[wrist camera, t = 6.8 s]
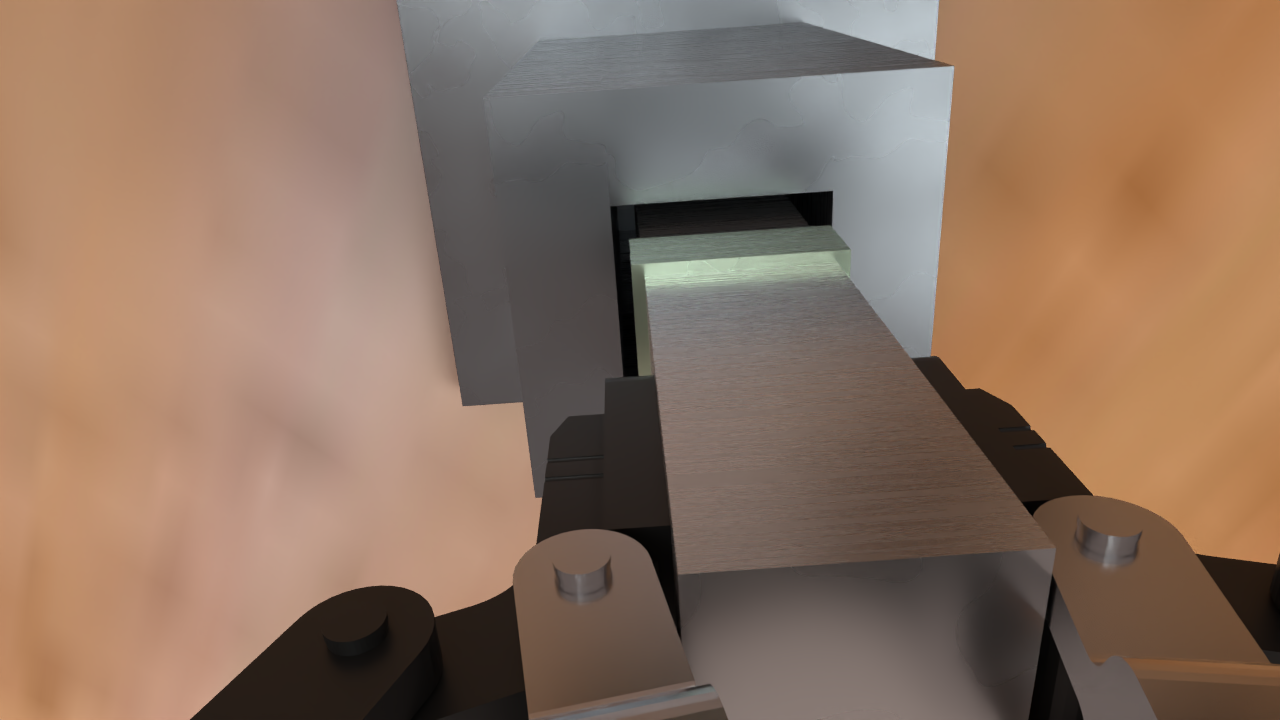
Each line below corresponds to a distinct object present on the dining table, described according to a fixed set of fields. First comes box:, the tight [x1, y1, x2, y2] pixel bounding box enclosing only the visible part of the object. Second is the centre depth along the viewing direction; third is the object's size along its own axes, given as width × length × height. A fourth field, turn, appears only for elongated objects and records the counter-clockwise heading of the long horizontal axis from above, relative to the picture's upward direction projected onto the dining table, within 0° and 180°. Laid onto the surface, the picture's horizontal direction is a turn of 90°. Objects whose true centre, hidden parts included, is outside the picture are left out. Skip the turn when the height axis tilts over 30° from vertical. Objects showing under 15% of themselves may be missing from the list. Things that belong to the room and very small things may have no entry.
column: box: [629, 194, 1056, 720], centre depth 16 cm, size 3×3×18 cm
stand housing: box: [397, 0, 954, 498], centre depth 23 cm, size 16×16×14 cm
